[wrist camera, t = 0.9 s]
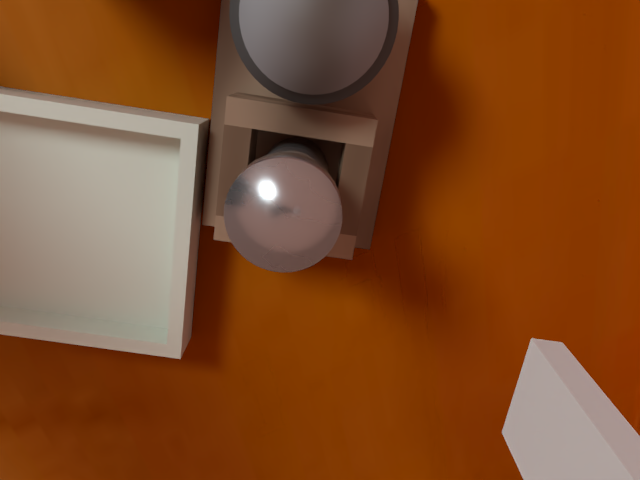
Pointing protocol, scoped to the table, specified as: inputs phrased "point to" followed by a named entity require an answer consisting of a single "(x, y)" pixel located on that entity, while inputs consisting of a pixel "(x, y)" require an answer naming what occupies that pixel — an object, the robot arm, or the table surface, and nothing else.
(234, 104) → the block
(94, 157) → the tray
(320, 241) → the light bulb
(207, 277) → the table surface
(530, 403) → the robot arm
